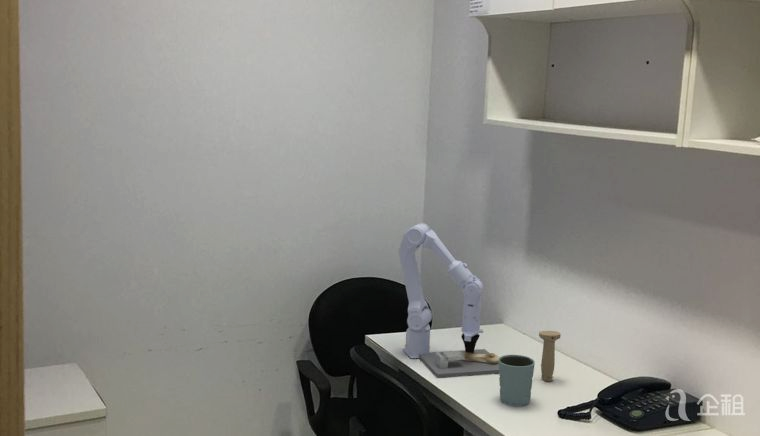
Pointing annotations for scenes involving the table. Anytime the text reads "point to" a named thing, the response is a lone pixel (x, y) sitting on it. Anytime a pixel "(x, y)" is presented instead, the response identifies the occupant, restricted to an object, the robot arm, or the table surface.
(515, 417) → the table surface
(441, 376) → the board
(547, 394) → the table surface
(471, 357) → the link
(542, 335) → the handle
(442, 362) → the block
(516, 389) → the teal cup
